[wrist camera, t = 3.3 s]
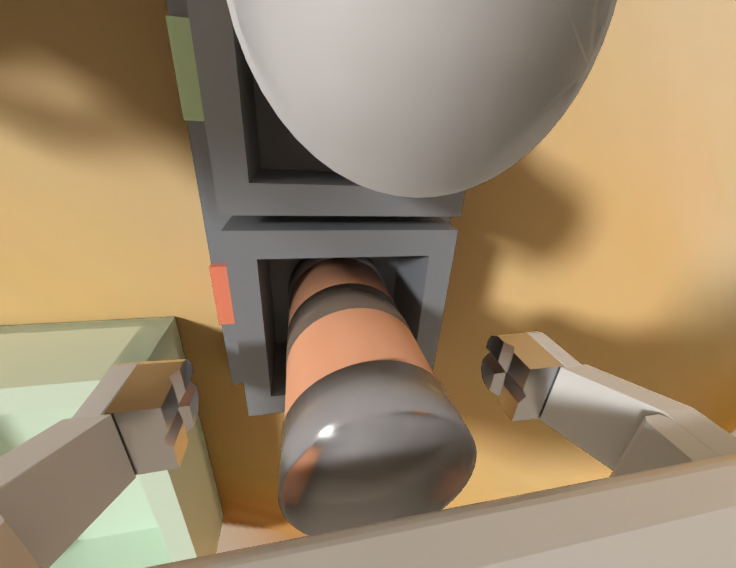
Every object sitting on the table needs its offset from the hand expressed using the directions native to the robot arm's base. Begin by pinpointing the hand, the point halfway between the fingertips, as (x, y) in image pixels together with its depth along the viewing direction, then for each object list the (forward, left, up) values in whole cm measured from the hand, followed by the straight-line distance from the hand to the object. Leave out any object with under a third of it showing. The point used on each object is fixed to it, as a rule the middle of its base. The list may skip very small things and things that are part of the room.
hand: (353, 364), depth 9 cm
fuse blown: (0, 0, -5) cm, 5 cm away
